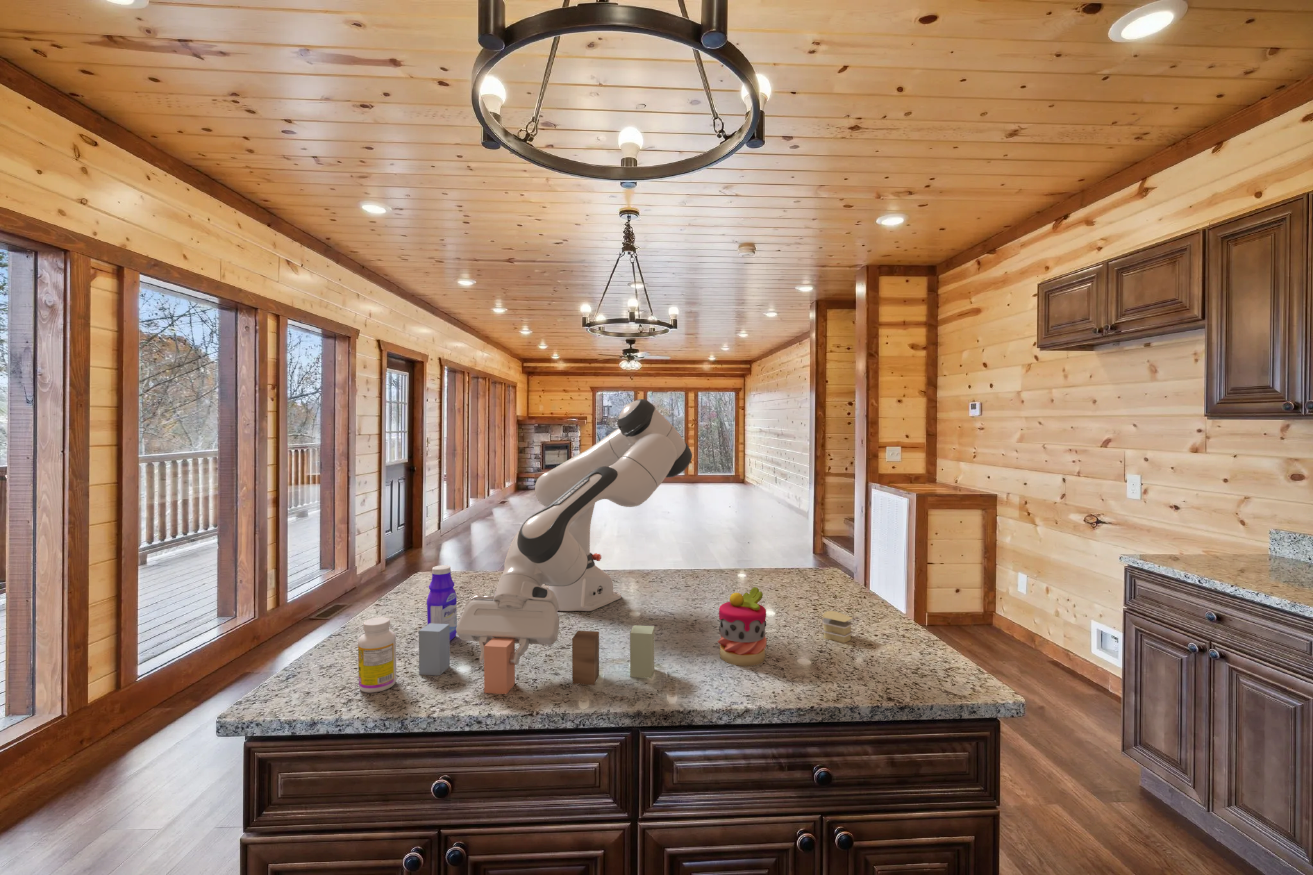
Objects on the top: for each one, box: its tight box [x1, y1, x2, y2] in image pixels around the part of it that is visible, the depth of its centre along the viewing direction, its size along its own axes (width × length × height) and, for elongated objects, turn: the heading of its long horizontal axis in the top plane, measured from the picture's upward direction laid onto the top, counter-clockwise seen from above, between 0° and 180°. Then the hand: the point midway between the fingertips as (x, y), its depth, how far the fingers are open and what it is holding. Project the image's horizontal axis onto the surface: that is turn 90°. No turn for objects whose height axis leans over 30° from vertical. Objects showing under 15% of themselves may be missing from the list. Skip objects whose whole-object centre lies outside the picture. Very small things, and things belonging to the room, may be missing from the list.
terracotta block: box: [483, 638, 516, 695], centre depth 112 cm, size 4×4×9 cm
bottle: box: [426, 564, 458, 641], centre depth 137 cm, size 7×6×17 cm
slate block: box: [418, 623, 451, 677], centre depth 120 cm, size 4×4×9 cm
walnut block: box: [571, 630, 600, 686], centre depth 116 cm, size 4×4×9 cm
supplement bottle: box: [357, 616, 397, 694], centre depth 113 cm, size 7×7×13 cm
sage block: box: [629, 625, 655, 679], centre depth 119 cm, size 4×4×9 cm
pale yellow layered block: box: [821, 610, 854, 644], centre depth 139 cm, size 10×9×6 cm
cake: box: [717, 586, 768, 667], centre depth 127 cm, size 10×11×15 cm
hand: (498, 662), depth 111 cm, fingers closed on terracotta block, 4 cm apart
